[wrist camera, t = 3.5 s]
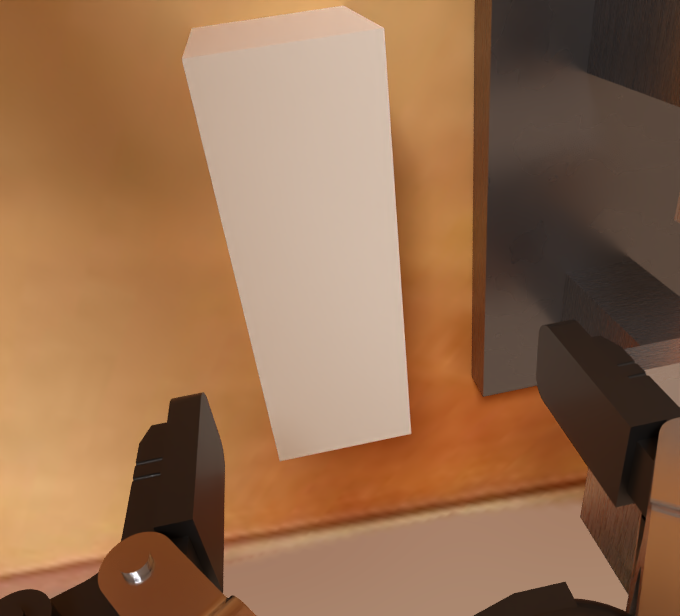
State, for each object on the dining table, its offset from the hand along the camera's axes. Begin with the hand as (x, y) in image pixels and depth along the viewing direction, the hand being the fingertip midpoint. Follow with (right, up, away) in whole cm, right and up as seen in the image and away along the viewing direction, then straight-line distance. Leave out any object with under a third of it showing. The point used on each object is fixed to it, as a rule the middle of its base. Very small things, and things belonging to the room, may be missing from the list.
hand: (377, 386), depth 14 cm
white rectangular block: (-2, +6, +9) cm, 11 cm away
